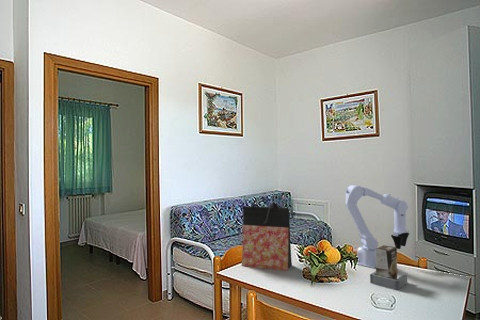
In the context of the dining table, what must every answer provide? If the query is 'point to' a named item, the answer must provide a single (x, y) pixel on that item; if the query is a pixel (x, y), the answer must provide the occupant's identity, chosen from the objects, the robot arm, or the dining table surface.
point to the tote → (388, 281)
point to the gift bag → (266, 237)
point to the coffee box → (386, 262)
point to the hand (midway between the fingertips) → (400, 247)
